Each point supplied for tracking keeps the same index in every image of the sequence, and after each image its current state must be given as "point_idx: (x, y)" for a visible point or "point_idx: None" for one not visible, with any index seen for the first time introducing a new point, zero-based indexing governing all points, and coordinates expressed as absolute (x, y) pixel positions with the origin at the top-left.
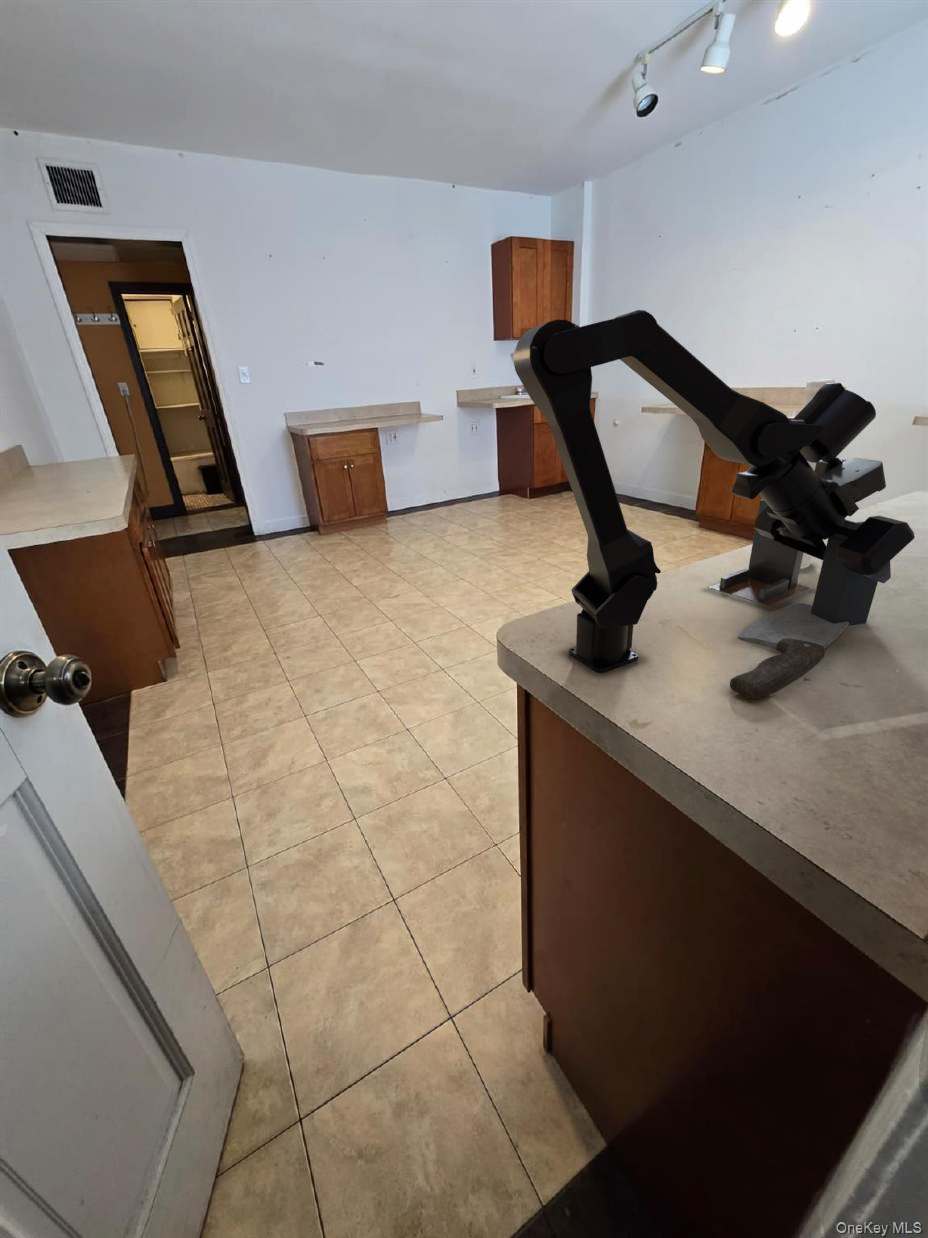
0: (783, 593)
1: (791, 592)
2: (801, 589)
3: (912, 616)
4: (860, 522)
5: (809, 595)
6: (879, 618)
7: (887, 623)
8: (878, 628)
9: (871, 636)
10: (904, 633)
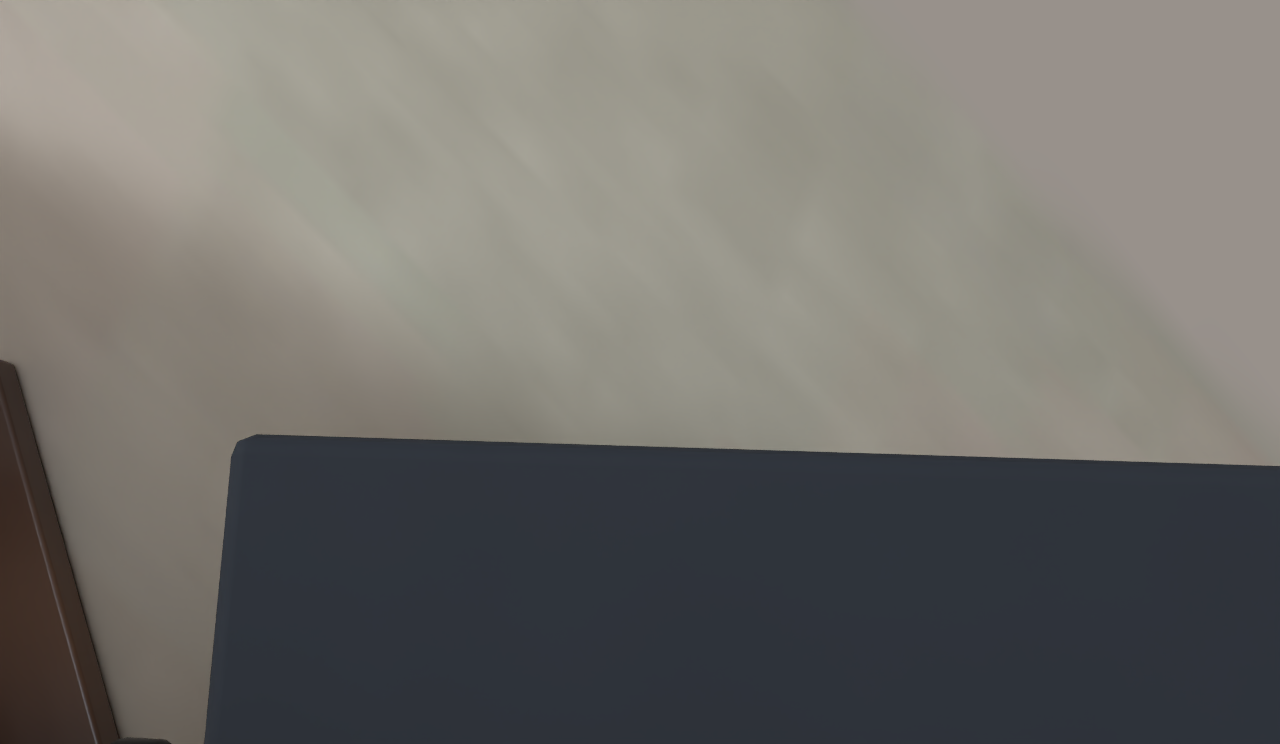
0: (9, 737)
1: (21, 634)
2: (3, 481)
3: (814, 20)
4: (278, 735)
5: (106, 447)
6: (761, 297)
7: (868, 323)
8: None
9: None
10: (1077, 366)
